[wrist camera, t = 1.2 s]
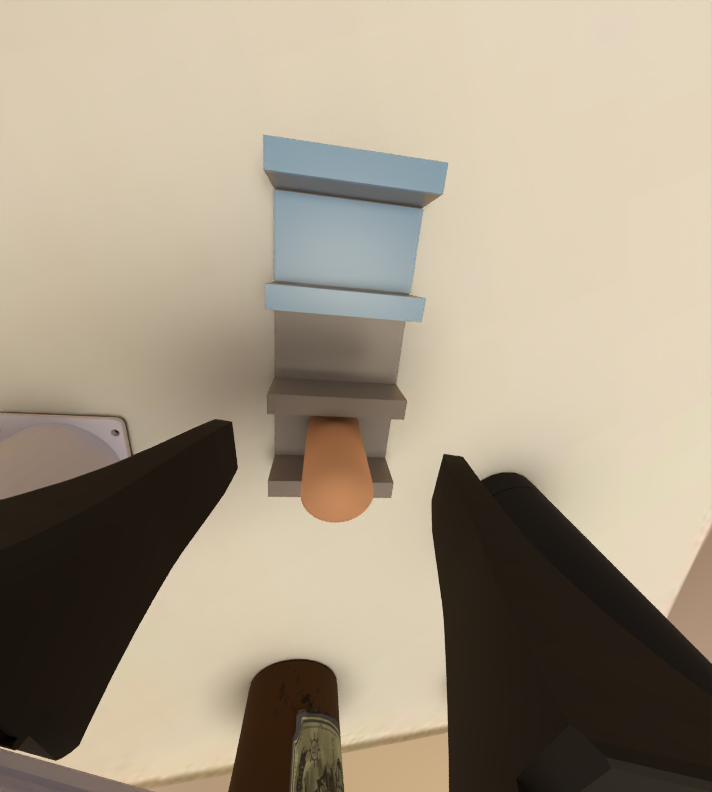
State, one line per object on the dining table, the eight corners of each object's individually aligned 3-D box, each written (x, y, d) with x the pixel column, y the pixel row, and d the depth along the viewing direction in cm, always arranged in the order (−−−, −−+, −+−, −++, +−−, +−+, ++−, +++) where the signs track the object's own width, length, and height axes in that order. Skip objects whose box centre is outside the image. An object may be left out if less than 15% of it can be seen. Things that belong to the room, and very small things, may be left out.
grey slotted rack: (380, 467, 24) (391, 504, 21) (276, 464, 24) (267, 503, 20) (421, 181, 18) (449, 154, 14) (277, 160, 17) (263, 125, 13)
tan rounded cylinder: (356, 451, 23) (369, 522, 16) (306, 449, 22) (299, 522, 16) (361, 405, 21) (377, 463, 15) (308, 403, 21) (301, 461, 14)
